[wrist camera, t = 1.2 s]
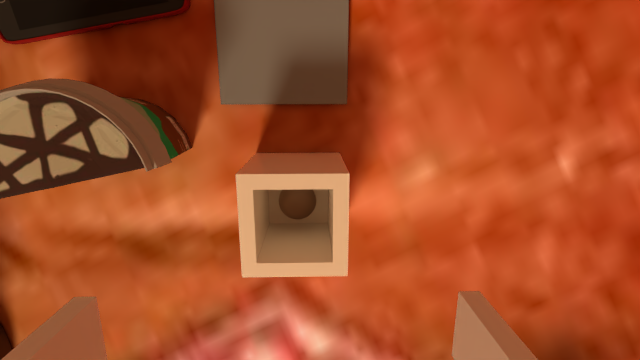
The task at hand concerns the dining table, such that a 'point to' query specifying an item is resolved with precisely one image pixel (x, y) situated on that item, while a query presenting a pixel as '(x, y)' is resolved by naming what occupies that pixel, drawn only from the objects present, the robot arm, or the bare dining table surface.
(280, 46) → the felt pad
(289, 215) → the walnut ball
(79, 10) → the cell phone
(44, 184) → the food container
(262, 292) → the dining table surface
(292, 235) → the cup
